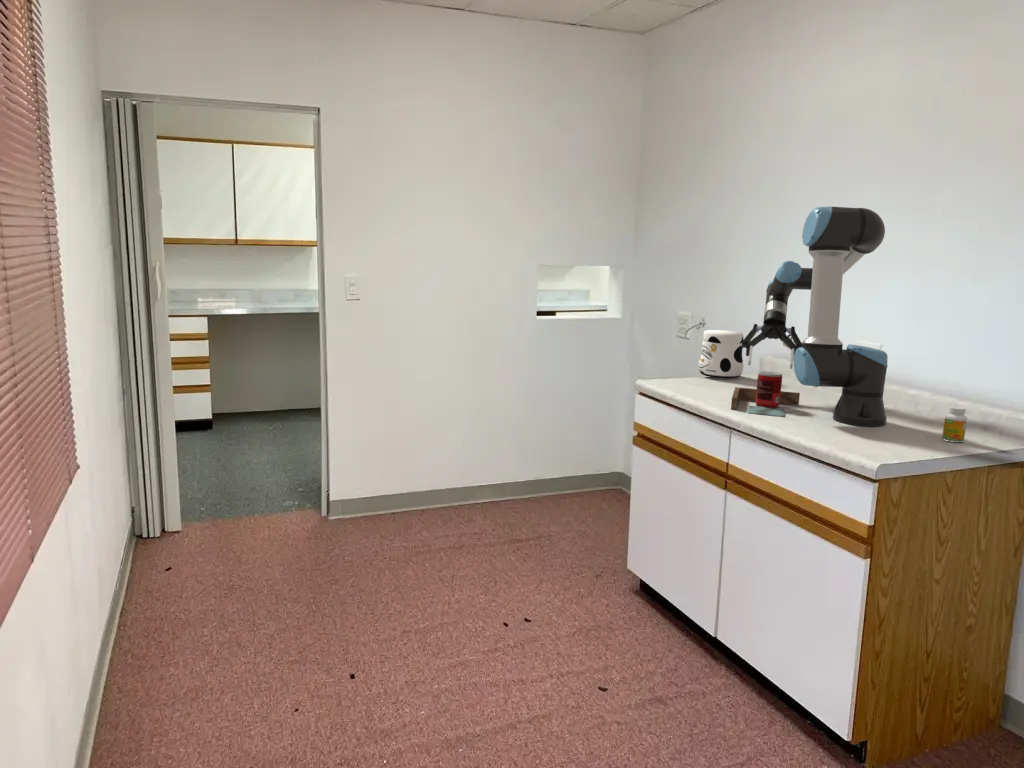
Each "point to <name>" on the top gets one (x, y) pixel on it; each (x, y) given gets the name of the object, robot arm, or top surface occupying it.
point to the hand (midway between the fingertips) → (770, 364)
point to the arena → (750, 395)
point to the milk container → (721, 354)
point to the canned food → (768, 389)
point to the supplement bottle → (955, 424)
